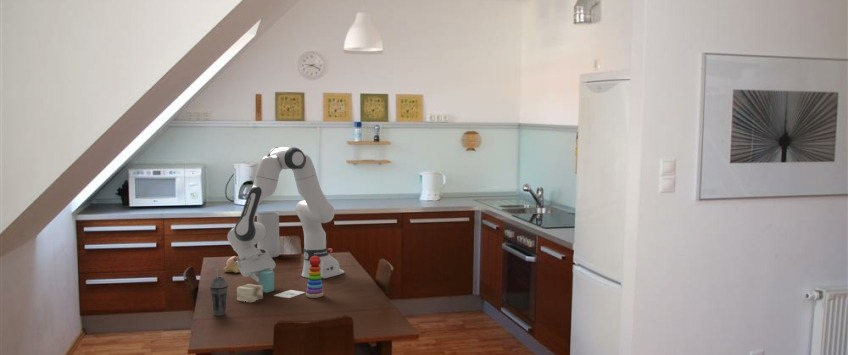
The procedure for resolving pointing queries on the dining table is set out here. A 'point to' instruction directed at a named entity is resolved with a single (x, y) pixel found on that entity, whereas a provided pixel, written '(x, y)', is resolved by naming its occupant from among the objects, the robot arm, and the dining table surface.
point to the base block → (249, 292)
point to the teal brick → (267, 280)
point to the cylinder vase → (270, 233)
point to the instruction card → (289, 294)
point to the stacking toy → (314, 279)
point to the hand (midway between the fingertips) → (266, 279)
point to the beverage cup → (219, 294)
